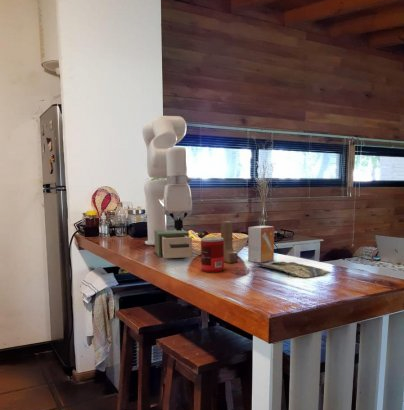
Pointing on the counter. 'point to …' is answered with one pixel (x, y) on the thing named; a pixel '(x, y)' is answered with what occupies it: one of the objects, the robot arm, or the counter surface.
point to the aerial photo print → (296, 269)
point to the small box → (260, 243)
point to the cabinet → (163, 233)
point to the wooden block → (228, 242)
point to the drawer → (176, 246)
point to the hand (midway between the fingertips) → (178, 230)
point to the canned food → (212, 254)
